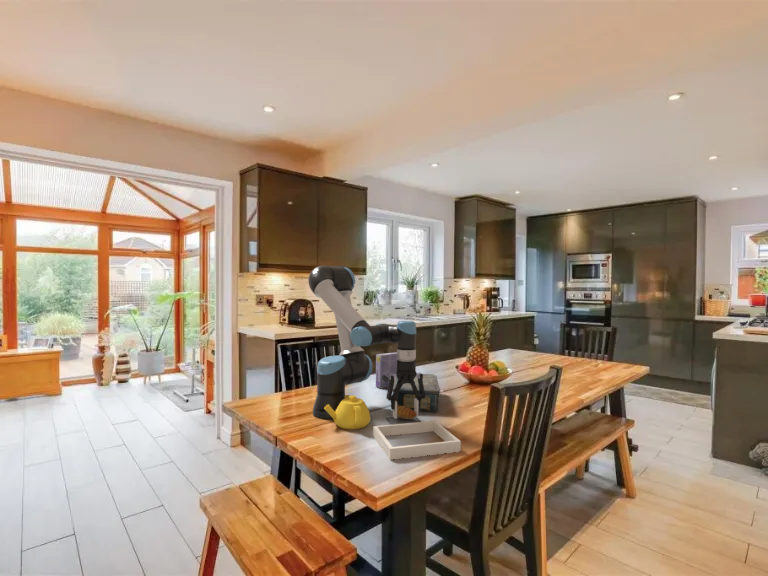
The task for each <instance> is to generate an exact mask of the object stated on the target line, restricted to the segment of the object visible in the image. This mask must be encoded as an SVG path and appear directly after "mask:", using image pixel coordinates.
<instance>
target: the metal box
mask: <svg viewBox="0 0 768 576" xmlns="http://www.w3.org/2000/svg"><path fill="white" fill-rule="evenodd" d="M422 374H423V379H422V380H423V386H424V392H425V398H422V400H421V406H420V408H418V413H425V412H426V413H437V412H439V411H440V392H441V388H440V384H439V381H438V377H437V375H435V373H434V374H431V373H422ZM397 381H398V378H397V377H396V378H395V381H394V386H393V392H394V390H395V387H396V385H397ZM414 382H415V385H416V387H417V390H418V392H419V394H420V391H419V385H418V378H417V376H416V377H415V378H414ZM393 392H392V393H393ZM414 399H417V398H416V396H415V394H414V391H413V389H412V387H411V384H410V383H406V384H403V385H402V387H401V389H400V391H399V393H398V396H397V398H396V400H395V401H397V405H400V406H405V407H408V408H410V409H412V410H414Z"/></svg>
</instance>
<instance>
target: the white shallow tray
mask: <svg viewBox="0 0 768 576" xmlns="http://www.w3.org/2000/svg"><path fill="white" fill-rule="evenodd" d="M372 427H373V428H372V429H373V430H372V436H373V438H374V439H375V441H376V442H377V444H378V445H379V447H380V448H381V449H382V450H383V452H384V454H385V455H386V457H388V459H389V461H393V459H395V460H402V458H404V459H409V458H410V459H411V457H413V458H418V457H419V458H420V456H421V457H427V455H428V456H429V455H430V456H437V454H438V455H445V454H444V453H447V454H454V453H453V452H456V453H460V452H459V451H461V448H462V447H461V445H462V442H461V440H460V439H459V438H457V437H456V436H455V435H454V434H452V433H451V432H450V431H449V430H447V429H446V427H444V426H442V425H441V424H440V423H439V422H437V420H429V421H422V422H416V423H405V424H393V425H392V424H386V425H373V426H372ZM430 432H434V433H435V434H436V435H437V436H438V437H439V436H440V437H439V438H441V439H442V441H437V442H427V443H417V444H409V445H400V446H399V445H398V446H393V445H392V444H391V443H390V441H389V440H388V439H387V438H386V437H388V436H390V435H391V436H399V435H400V434H401V435H410V434H411V433H412V434H420V433H422V434H423V433H430ZM401 435H400V436H401Z"/></svg>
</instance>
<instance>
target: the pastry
mask: <svg viewBox="0 0 768 576" xmlns="http://www.w3.org/2000/svg"><path fill="white" fill-rule="evenodd" d="M416 415H417V414H416V412H415V411H414V410H412V409H410V408H408V407H405V406H400V405H397V416H398V417H400V418H405V419H413V418H415V417H416Z"/></svg>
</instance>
